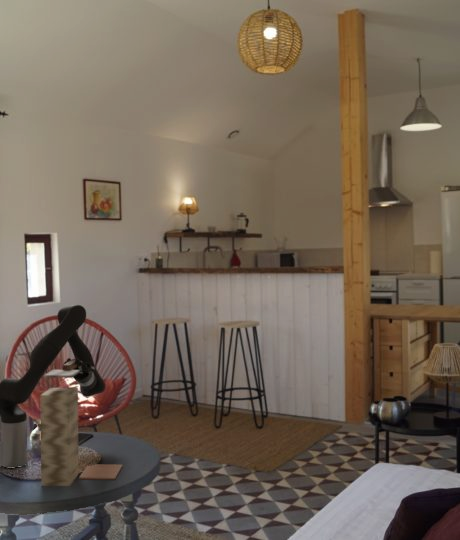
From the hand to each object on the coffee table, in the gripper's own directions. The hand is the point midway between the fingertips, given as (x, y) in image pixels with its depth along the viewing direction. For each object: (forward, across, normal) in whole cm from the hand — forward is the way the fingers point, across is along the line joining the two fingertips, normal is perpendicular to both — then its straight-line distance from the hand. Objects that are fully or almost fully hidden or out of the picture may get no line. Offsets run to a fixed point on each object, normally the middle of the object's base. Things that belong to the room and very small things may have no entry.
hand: (72, 360), depth 252 cm
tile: (-12, +13, +39) cm, 43 cm away
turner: (+4, 0, +6) cm, 7 cm away
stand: (-5, 0, +43) cm, 44 cm away
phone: (-46, -7, +21) cm, 51 cm away
